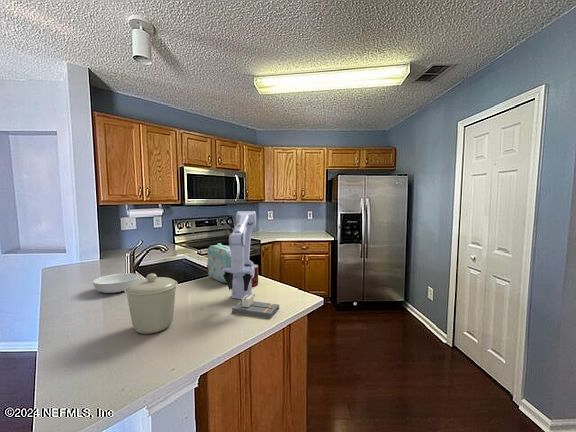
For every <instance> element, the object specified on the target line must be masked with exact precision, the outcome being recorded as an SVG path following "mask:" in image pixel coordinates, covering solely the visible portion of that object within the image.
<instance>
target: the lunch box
mask: <svg viewBox="0 0 576 432" xmlns="http://www.w3.org/2000/svg"><path fill="white" fill-rule="evenodd" d="M223 268H231V250H230V245H229V246H228V245H223V244H222V243H221V242H220V243H217V244H214V245H210V246H208V248H207V264H206V270H207V275H208V276H209V278H211V279H213V280H215V281H218V282H221V283H224V284H227V282H226V280H225V278H224V277H223V275H224V274H225V273H222V269H223ZM234 279H235V278H234V276H233V280H234ZM233 280H232V281H233Z"/></svg>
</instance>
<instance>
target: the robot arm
mask: <svg viewBox="0 0 576 432" xmlns="http://www.w3.org/2000/svg"><path fill="white" fill-rule="evenodd" d="M235 216H236V217H235V219H236V224H235V227H234V229H233V232H232V233H230V234H229V236H228V245H229V247H230V250H231V268H223V269H222V273H225V274H224V275H223V277H224V278H225V280H226V282H227V283H226V284H227V287H228V290H231V296H230V298H231V299H238V300H239V299H240V300H242V298H243V297H245V296H246V295H249V294H251V295H253V297H254V296H255V293H254V292H253V291H252V289H253V287H252V285H251V279H253V277H254V262H253V261H252V260H250V256H251V255H250V253H251V241H252V240H251V239H252V232H253V230H254V229H256V226H257V224H256V223H257V212H256V211H255V210H253V211H239V210H238V211H236V214H235ZM233 276H234V278H235V279H234V280H233ZM232 280H233V281H232Z"/></svg>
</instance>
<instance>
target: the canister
mask: <svg viewBox="0 0 576 432" xmlns="http://www.w3.org/2000/svg"><path fill="white" fill-rule="evenodd" d="M178 285H179V284H178V281H177V280H175V279H173V278H170V277H165V276H164V277H163V276H159V277H158V276H157V274H156V273H149V274H147V275H146V278H144V279H138V281H136V282H134V283H132V284H130V285H129V286H128V287H126V288H125V290H124V291H123V292H124V293H125V294H126V296H127V303H128V308H129V314H130V319H131V323H132V326H133V329H134V331H135V332H137V333H138V334H144V335H146V334H147V335H148V334H156V333H159V332H162V331H164V330H166V329H167V328H169V327H170V325H171V324H172V322H173V320H174V314H175V313H174V312H175V304H176V303H175V301H176V300H175V299H176V288H177V286H178Z"/></svg>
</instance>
